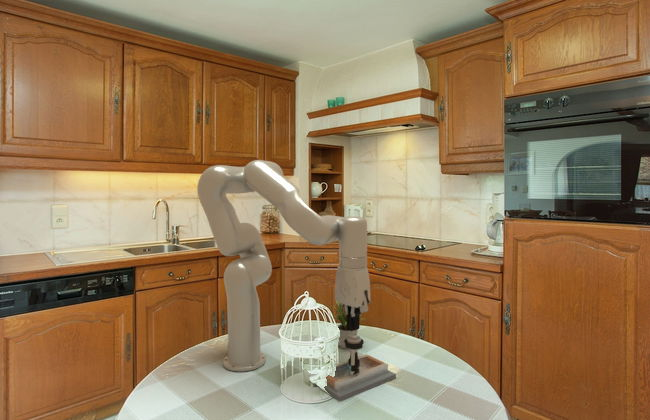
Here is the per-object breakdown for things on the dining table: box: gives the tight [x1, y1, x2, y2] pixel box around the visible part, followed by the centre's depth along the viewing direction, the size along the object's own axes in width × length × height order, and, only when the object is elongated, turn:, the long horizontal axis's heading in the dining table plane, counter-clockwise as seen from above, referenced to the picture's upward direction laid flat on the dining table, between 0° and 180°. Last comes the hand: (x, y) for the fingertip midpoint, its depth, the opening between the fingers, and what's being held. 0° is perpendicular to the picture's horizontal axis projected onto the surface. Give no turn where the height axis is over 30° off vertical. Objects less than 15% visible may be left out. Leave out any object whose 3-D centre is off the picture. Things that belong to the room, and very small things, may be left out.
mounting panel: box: [324, 369, 397, 402], centre depth 108 cm, size 13×20×1 cm, turn 127°
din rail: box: [326, 353, 389, 392], centre depth 108 cm, size 9×18×2 cm, turn 127°
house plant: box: [331, 298, 366, 350], centre depth 131 cm, size 14×14×16 cm
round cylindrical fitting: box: [344, 334, 365, 376], centre depth 108 cm, size 7×5×10 cm
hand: (353, 329), depth 108 cm, fingers closed
